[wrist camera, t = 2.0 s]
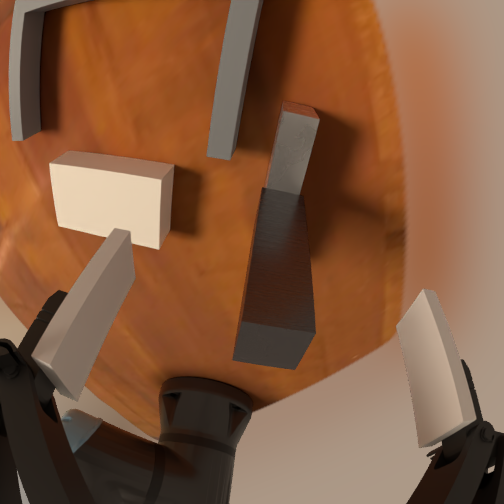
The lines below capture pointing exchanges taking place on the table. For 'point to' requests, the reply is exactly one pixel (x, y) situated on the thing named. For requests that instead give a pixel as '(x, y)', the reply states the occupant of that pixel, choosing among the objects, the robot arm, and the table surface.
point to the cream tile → (113, 195)
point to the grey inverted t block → (280, 254)
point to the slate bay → (37, 3)
